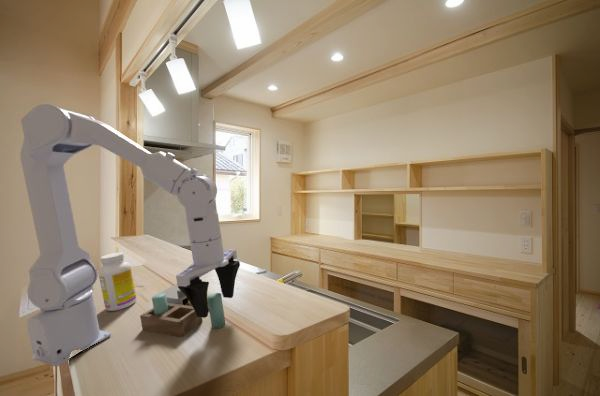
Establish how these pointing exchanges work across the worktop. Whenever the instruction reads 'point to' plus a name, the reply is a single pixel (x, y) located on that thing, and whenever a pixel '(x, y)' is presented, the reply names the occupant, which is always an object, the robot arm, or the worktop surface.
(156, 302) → the pin seated
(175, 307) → the socket strip
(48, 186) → the robot arm
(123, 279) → the supplement bottle
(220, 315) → the pin loose
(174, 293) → the housing
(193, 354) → the worktop surface
